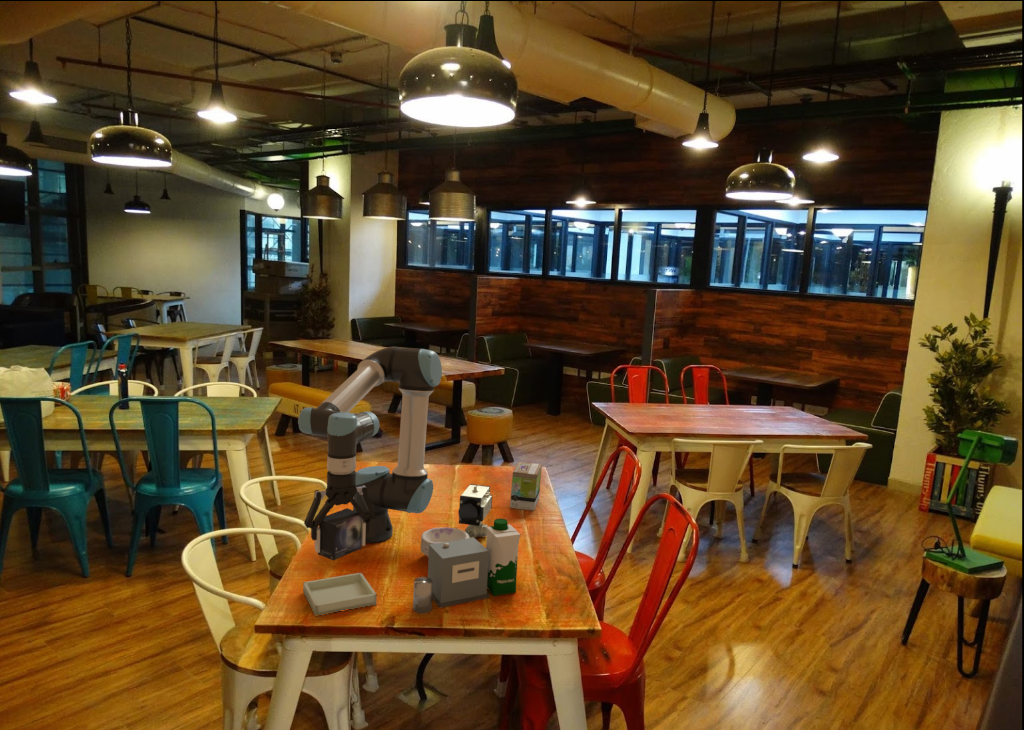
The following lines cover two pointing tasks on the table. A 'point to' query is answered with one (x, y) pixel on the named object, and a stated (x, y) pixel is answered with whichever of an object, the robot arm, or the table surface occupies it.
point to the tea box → (525, 486)
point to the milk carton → (502, 557)
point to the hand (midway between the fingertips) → (340, 547)
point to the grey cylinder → (422, 595)
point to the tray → (339, 593)
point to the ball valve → (475, 509)
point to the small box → (340, 534)
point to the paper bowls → (440, 537)
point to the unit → (458, 571)
